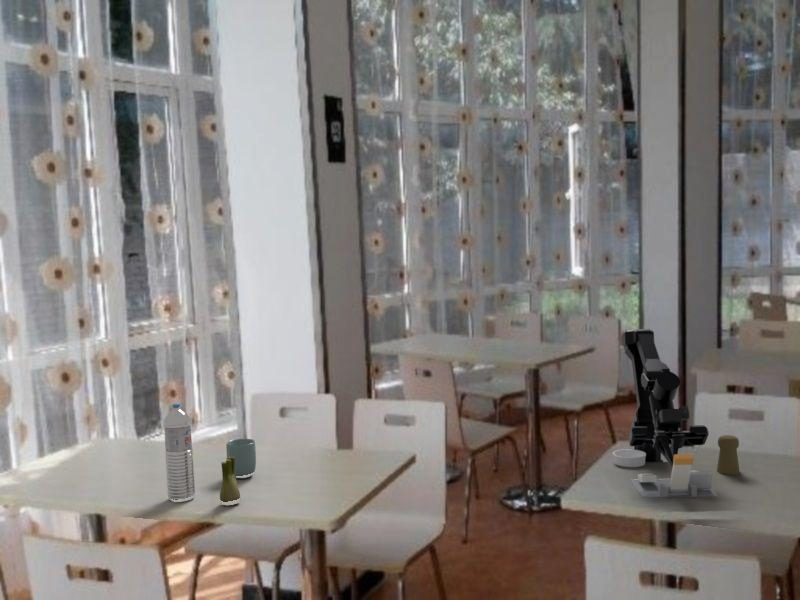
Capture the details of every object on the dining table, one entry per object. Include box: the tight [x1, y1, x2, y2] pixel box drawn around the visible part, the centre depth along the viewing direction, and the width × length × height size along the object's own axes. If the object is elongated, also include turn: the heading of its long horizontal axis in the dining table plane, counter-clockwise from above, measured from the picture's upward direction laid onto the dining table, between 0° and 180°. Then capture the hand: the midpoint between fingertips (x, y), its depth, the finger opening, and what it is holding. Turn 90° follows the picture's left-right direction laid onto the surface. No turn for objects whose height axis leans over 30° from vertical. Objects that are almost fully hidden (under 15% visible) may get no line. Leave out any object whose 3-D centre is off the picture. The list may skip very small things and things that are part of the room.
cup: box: [225, 438, 257, 476], centre depth 245 cm, size 8×8×10 cm
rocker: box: [637, 473, 658, 482], centre depth 222 cm, size 5×4×2 cm
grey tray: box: [629, 477, 719, 498], centre depth 220 cm, size 15×18×4 cm
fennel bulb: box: [219, 456, 241, 502], centre depth 222 cm, size 6×5×12 cm
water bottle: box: [163, 402, 196, 500], centre depth 227 cm, size 7×7×25 cm
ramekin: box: [612, 448, 646, 468], centre depth 242 cm, size 9×9×4 cm
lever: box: [668, 453, 694, 494], centre depth 211 cm, size 2×4×12 cm, turn 86°
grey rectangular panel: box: [689, 471, 713, 489], centre depth 216 cm, size 1×6×5 cm, turn 86°
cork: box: [716, 434, 741, 476], centre depth 231 cm, size 6×6×11 cm
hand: (673, 466), depth 217 cm, fingers closed
